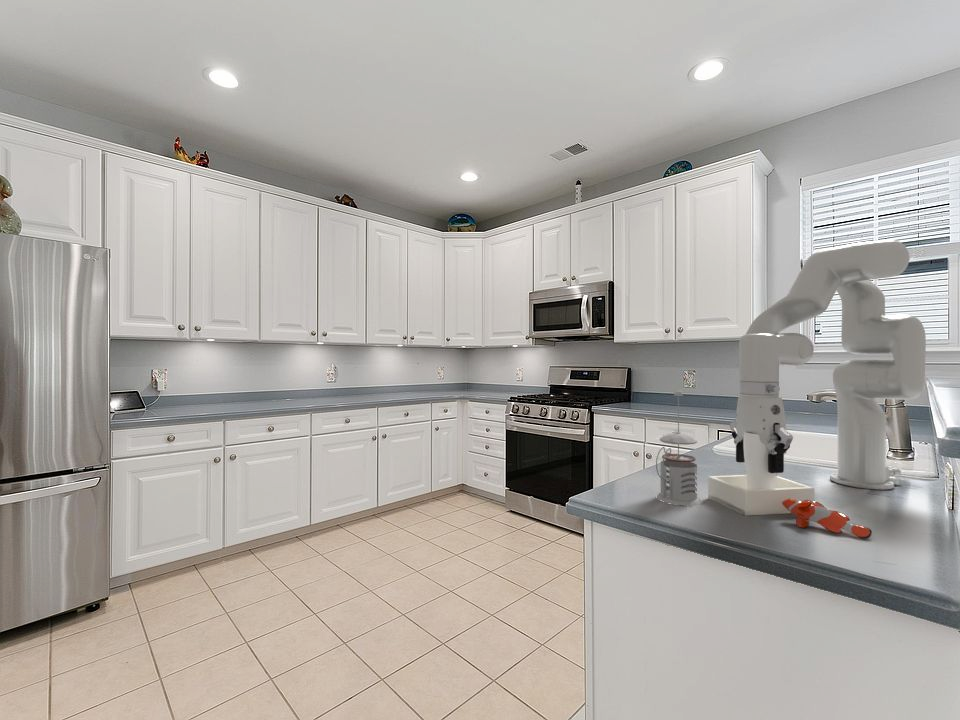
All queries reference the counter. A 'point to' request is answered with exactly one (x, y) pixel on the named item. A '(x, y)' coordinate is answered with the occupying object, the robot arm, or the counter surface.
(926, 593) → the counter surface
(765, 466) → the drinking glass
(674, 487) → the french press
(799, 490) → the bin
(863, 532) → the fish
